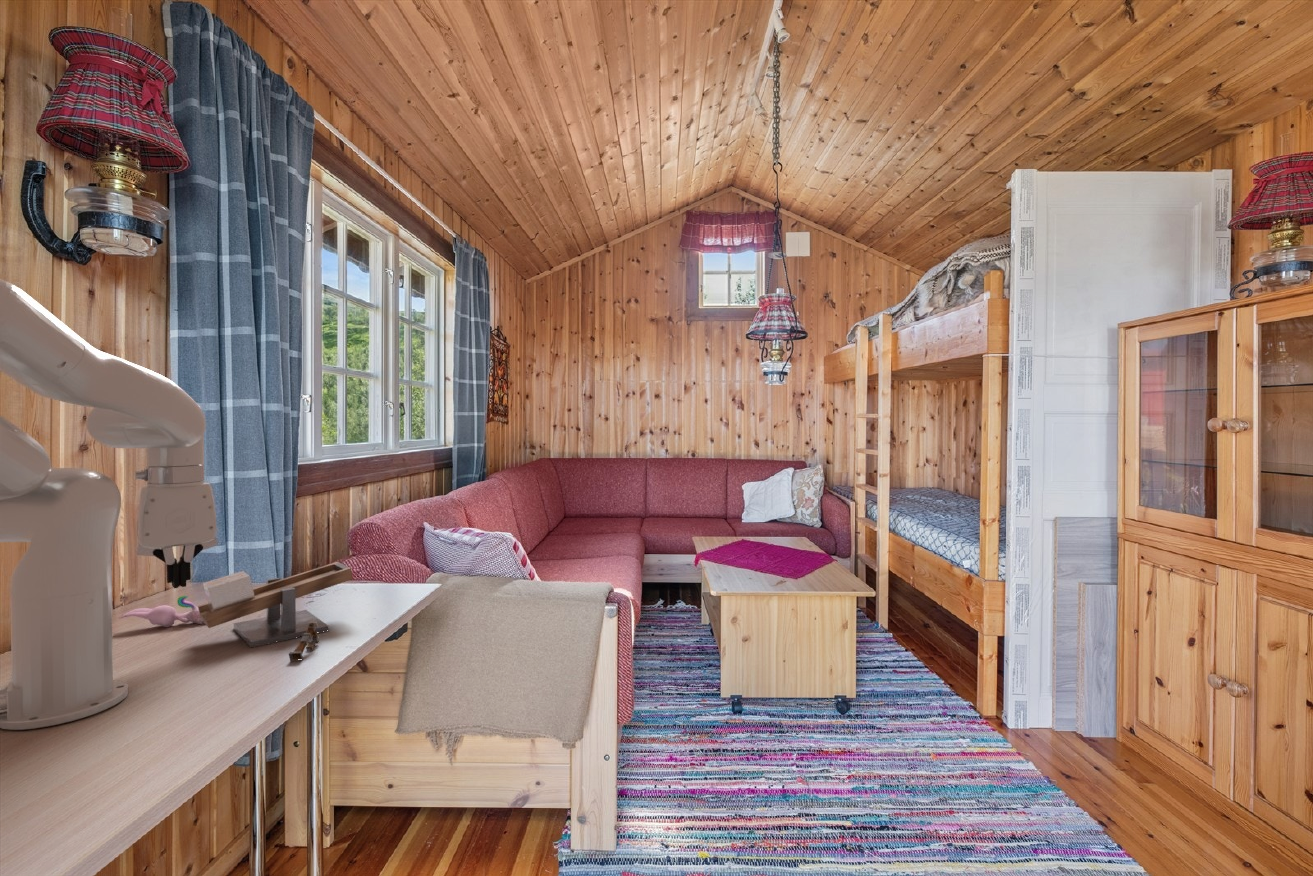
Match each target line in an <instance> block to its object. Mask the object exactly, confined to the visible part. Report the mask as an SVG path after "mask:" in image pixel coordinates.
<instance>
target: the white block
mask: <svg viewBox="0 0 1313 876" xmlns="http://www.w3.org/2000/svg"><path fill="white" fill-rule="evenodd" d="M251 580H252V579H251V576H250V574H248V573H246V572H245V571H244V570H241V571H237V572H234V573H232V574H229V575H224V576H221V577H218V578H215V579H212V580H207V581H205V582H203V583H202V584H203V588H204V589H203V590H204V593H205V597H206V601H207V603H208V605H209V609H210V611H211V612H214V611H217V610H220V609H223V608H226V607H229V606H232V605H235V604H238V603H241V602H244V601H247V600H251V599H254V598H255V596H254V592H253V588H254V587H253V585H252V581H251Z"/></svg>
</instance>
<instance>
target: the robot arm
mask: <svg viewBox="0 0 1313 876" xmlns="http://www.w3.org/2000/svg"><path fill="white" fill-rule="evenodd" d="M0 372H2V373H3V374H5V375H7V376H8V377H10V378H11V379H13V380H14V381H16V382H18V383H19V384H21V385H22V386H24V387H25V388H27V389H28V390H29V391H31V392H32V393H34V394H36V395H39V396H41V397H44V398H47V399H50V400H54V401H58V402H62V403H66V404H71V405H77V406H82V407H88V408H93V409H91V411H90V412H89V413H88V415H87V417H86V422H85V423H86V425H85V426H86V430H87V433H88V434H89V435H90V437H91V438H92V439H93V440H94V441H96V442H97V443H99V445H103V446H106V447H110V448H114V449H145V454H146V455H145V458H146V459H145V461H146V463H145V464H146V467H145V468H144V469H143V470H138V471H137V470H136V471H134V479H135V480H136V481H137V480H140V481H144V482H146V485H142V486H141V489H140V493H139V498H138V499H139V500H138V502H139V503H138V507H137V519H136V521H137V522H136V523H137V524H136V529H137V530H136V535H137V536H136V537H137V540H138V542H137V545H136V549H135V554H136V555H137V556H144V557H146V556H147V557H155V558H157V559H159V560H160V561H162V562H164V563H165V565H166V582H167V584H171V586H172V587H173V589H178V588H179V587H181V588H185V587H187V581H191V578H192V575H191V571H192V570H191V562H192V561H193V559H194V558H195V557H196V556H197V555H199V554H200V553H201V552H202V551H204V550H207V549H211V548H213V547H217V545H218V543H219V542H218V539H217V534H218V533H217V532H218V528H217V527H218V526H217V524H218V523H217V514H216V513H217V512H216V503H215V497H214V492H213V487H212V484H211V483H210V482H207V481H206V482H205V480H206V479H205V445H204V441H205V440H204V434H205V432H206V426H207V425H206V417H205V413H204V412H203V409H202V407H201V406H200V405H199V404H198V403H197V402H196V401H195V400H194V399H193V398H192V396H190V395H189V394H188V393H187V392H186V391H185V390H184V389H183V388H181V387H180V386H179V385H177V384H176V383H175V382H173V380H170V379H169V378H167V377H165V376H163V375H161V373H160V374H159V373H158V372H154V371H153V370H150V369H148V368H145V367H143V366H141V365H138V364H135V363H133V362H130V361H128V360H126V359H123V358H121V357H118V356H116V355H112V354H110V353H107V352H104V351H101V350H99V349H97V348H96V347H94V346H92V345H91V344H90V343H88V342H87V340H85V339H83V338H82V337H81V336H80V335H78V333H76V332H75V331H74V330H72V328H70V327H68V325H66V324H65V323H64V322H63V321H61V320H60V319H59V318H57V317H56V316H55V315H54V314H53V313H52V312H50V311H49V310H48V309H47V308H46V307H44V306H43V305H41V304H40V303H39V302H38V301H37V300H35V299H34V298H33V297H32V296H30V295H29V294H28V293H26V292H25V291H24V290H23V289H21V288H20V287H18V286H16V285H15V284H13V283H12V282H9V281H8V280H4V279H1V278H0ZM51 462H52V461H51V459H50V456H49V454H48V452H47V451H46V449H45V448H44V447H43V446H42V444H40V443H39V442H38V441H37V440H36V439H35V438H33V437H32V436H31V435H30V434H29V433H27V432H26V431H24V430H22V429H21V428H20V427H18V426H17V425H15V424H14V423H12V422H11V421H10V420H8V419H6V418H5V417H4V416H2V415H1V414H0V543H29V546H28V547H27V549H26V551H25V552H24V553H23V555H22V556H21V558H20V559H19V561H18V562H17V564H16V566H15V568H14V570H13V572H12V575H11V579H10V586H9V587H10V588H9V592H10V594H9V595H10V643H11V644H10V647H11V649H10V651H11V653H10V654H11V657H10V659H11V661H10V662H11V678H9V679H8V683H7V684H6V685H2V686H0V729H2V730H9V731H12V730H13V731H19V730H20V731H23V730H32V729H33V730H34V729H40V728H46V727H51V726H52V727H53V726H56V725H62V724H65V723H70V722H74V721H77V720H81V719H83V718H88V717H90V716H93V715H96V714H98V713H101V712H103V711H106V710H108V709H109V708H112V707H114V706H115V705H117V704H119V703H121V702H122V701H123V700H124V699H125V698H126V697H127V696H128V694H129V685H128V683H126V682H124V681H122V680H121V681H120V680H118V679H117V680H115V679H114V668H113V667H114V666H113V665H114V662H113V661H114V660H113V659H114V657H113V656H114V655H113V654H114V653H113V649H114V647H113V644H114V643H113V582H112V577H113V575H112V571H113V570H112V569H113V568H112V567H113V565H112V564H113V547H114V540H115V533H116V530H117V529H116V528H117V525H118V521H119V517H120V512H121V509H122V508H121V507H122V496H121V491H120V489H119V487H118V485H117V484H116V483H115V482H114V480H112V478H110V477H108V476H107V475H106V474H103V473H101V472H98V471H95V470H91V469H86V468H78V467H77V468H73V467H52V463H51ZM179 546H180V547H181V546H182V552H181V556H180V557H179V560H177V558H176V557H175V555H174V549H173V547H179Z"/></svg>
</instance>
